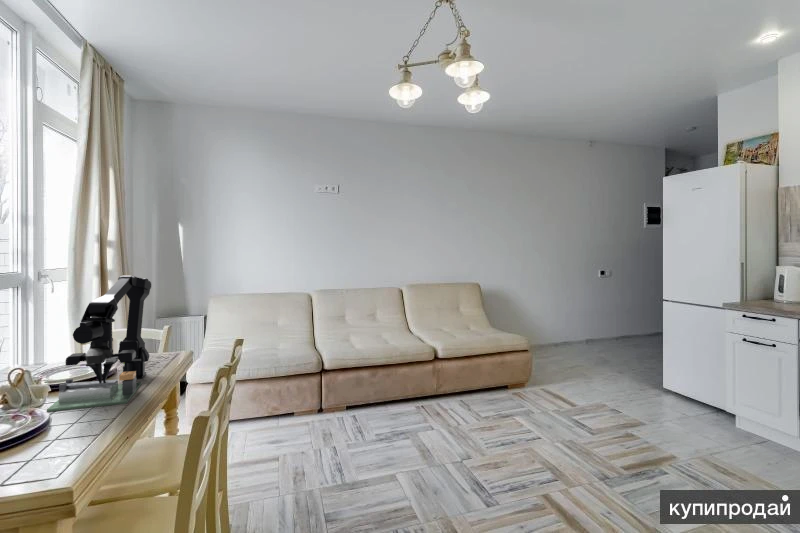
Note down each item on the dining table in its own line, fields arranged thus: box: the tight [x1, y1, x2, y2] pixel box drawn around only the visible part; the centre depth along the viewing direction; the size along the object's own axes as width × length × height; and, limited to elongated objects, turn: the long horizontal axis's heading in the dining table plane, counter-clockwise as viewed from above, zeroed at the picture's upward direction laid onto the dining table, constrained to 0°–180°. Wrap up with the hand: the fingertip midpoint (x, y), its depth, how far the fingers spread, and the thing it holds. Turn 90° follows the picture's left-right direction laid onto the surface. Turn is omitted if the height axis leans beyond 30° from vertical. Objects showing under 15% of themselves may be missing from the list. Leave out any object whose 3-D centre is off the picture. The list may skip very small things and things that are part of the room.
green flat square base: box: [46, 376, 142, 413], centre depth 135 cm, size 21×20×6 cm
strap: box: [67, 379, 118, 388], centre depth 134 cm, size 14×4×1 cm, turn 112°
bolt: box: [118, 371, 136, 382], centre depth 138 cm, size 4×4×2 cm
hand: (102, 381), depth 136 cm, fingers closed, pressing on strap
